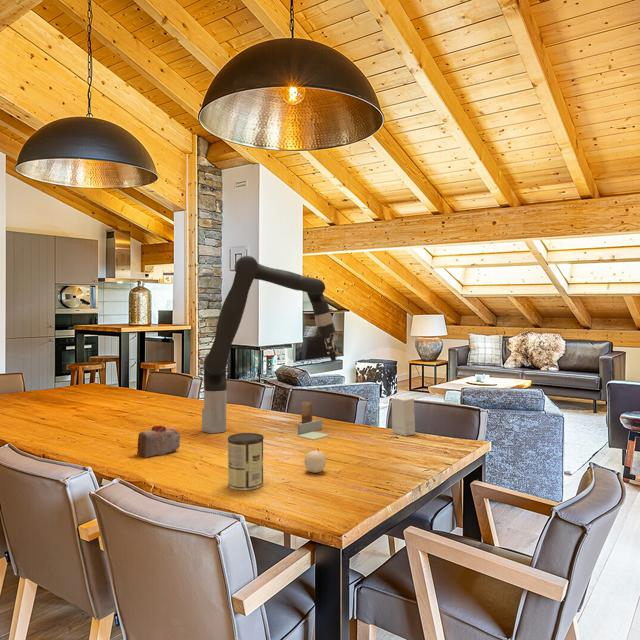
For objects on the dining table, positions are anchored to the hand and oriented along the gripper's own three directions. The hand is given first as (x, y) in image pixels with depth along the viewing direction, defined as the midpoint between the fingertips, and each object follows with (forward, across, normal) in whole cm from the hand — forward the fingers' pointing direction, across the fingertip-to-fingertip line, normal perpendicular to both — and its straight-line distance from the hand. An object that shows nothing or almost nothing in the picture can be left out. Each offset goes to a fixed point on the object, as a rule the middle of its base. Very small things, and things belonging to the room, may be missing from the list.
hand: (333, 358), depth 241 cm
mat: (+25, +25, -14) cm, 38 cm away
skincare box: (+35, +18, +21) cm, 44 cm away
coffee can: (+15, +87, -29) cm, 93 cm away
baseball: (+22, +73, -10) cm, 77 cm away
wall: (+25, +17, -16) cm, 34 cm away
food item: (+9, +55, -65) cm, 85 cm away
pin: (+25, +8, -18) cm, 32 cm away
